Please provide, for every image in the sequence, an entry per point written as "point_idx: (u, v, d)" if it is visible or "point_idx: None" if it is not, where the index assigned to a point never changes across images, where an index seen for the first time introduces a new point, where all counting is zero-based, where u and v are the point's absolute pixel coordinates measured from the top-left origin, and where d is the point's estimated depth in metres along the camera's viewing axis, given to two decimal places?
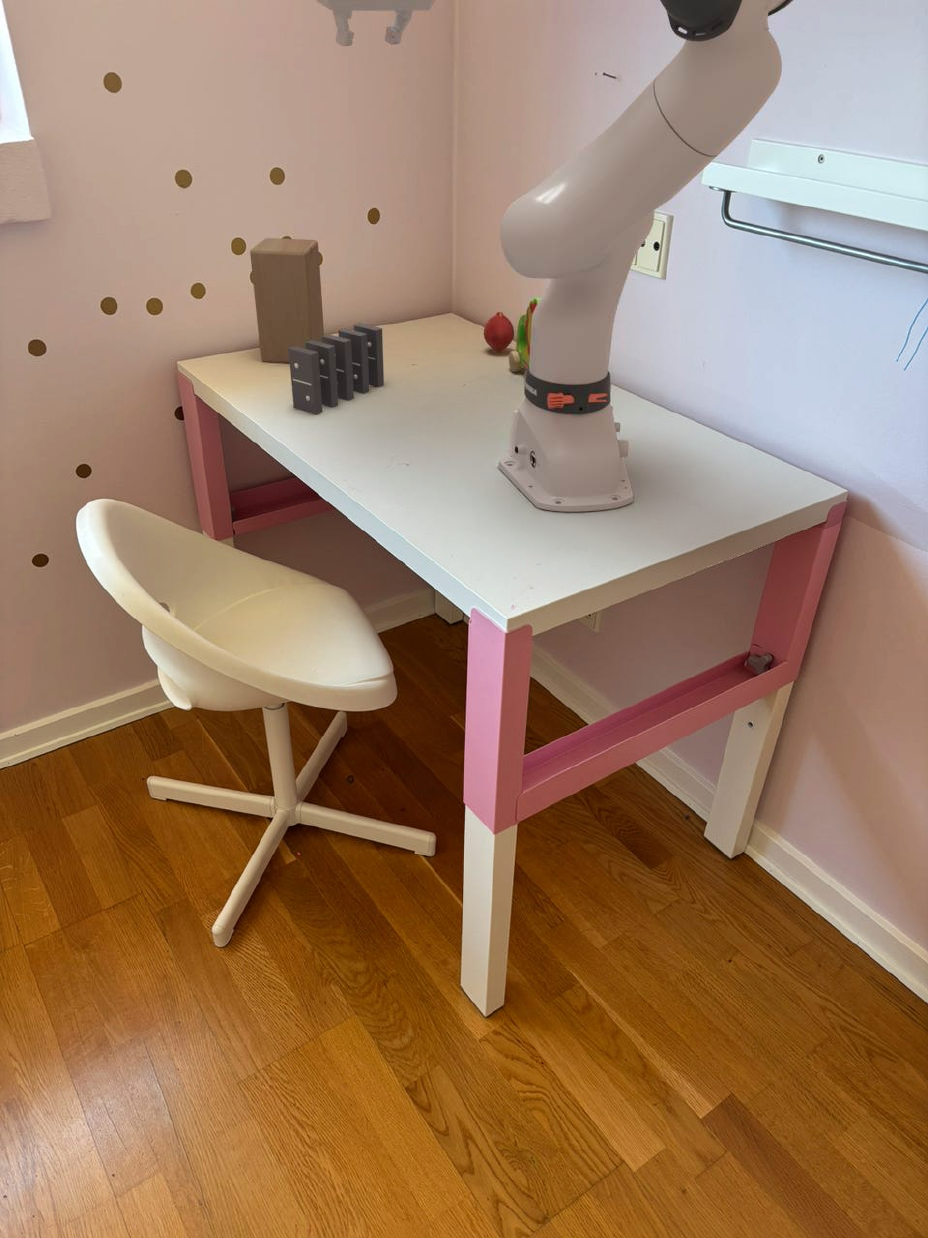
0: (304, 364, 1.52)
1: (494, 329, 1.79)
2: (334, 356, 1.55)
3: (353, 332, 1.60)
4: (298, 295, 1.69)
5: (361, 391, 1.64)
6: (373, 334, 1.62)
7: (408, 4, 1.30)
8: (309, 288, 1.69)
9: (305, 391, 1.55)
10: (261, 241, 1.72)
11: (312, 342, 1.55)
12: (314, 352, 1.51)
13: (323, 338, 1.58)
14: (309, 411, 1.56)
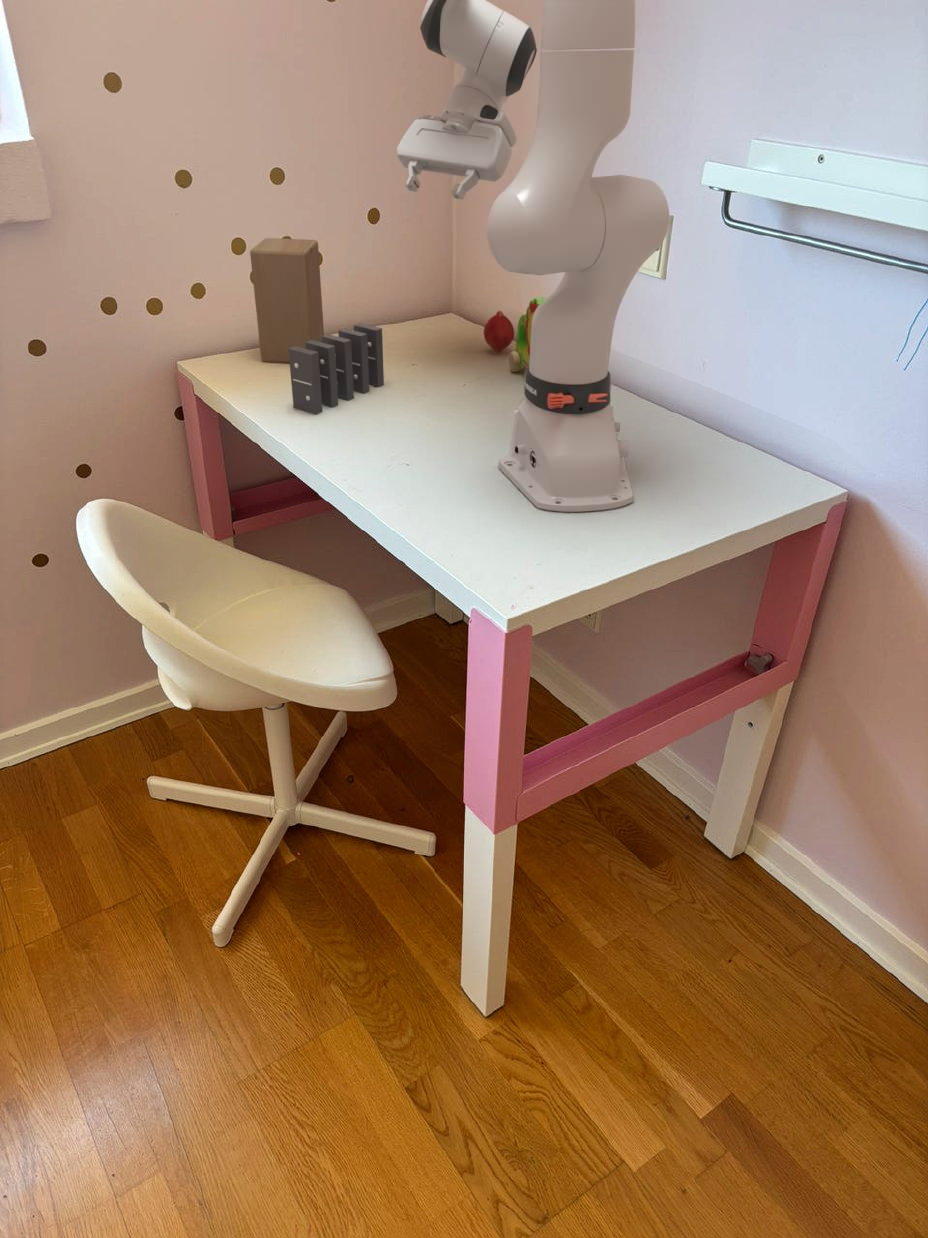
0: (304, 364, 1.52)
1: (494, 329, 1.79)
2: (334, 356, 1.55)
3: (353, 332, 1.60)
4: (298, 295, 1.69)
5: (361, 391, 1.64)
6: (373, 334, 1.62)
7: (465, 159, 1.55)
8: (309, 288, 1.69)
9: (305, 391, 1.55)
10: (261, 241, 1.72)
11: (312, 342, 1.55)
12: (314, 352, 1.51)
13: (323, 338, 1.58)
14: (309, 411, 1.56)
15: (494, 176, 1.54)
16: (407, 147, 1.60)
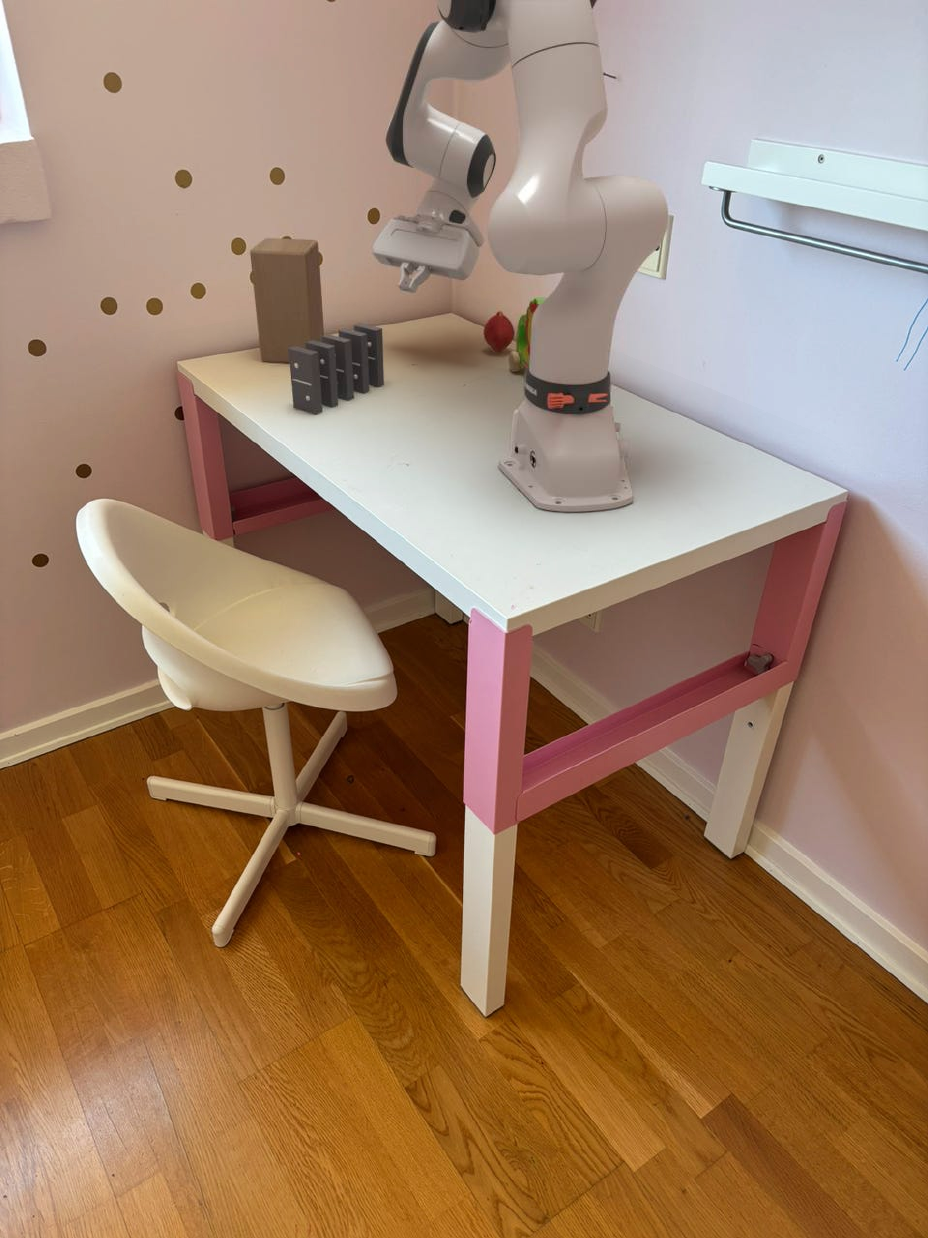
0: (304, 364, 1.52)
1: (495, 329, 1.79)
2: (334, 356, 1.55)
3: (353, 332, 1.60)
4: (298, 295, 1.69)
5: (361, 391, 1.64)
6: (373, 334, 1.62)
7: (435, 260, 1.65)
8: (309, 288, 1.69)
9: (305, 391, 1.55)
10: (261, 241, 1.72)
11: (312, 342, 1.55)
12: (314, 352, 1.51)
13: (323, 338, 1.58)
14: (309, 411, 1.56)
15: (461, 276, 1.64)
16: (382, 246, 1.70)
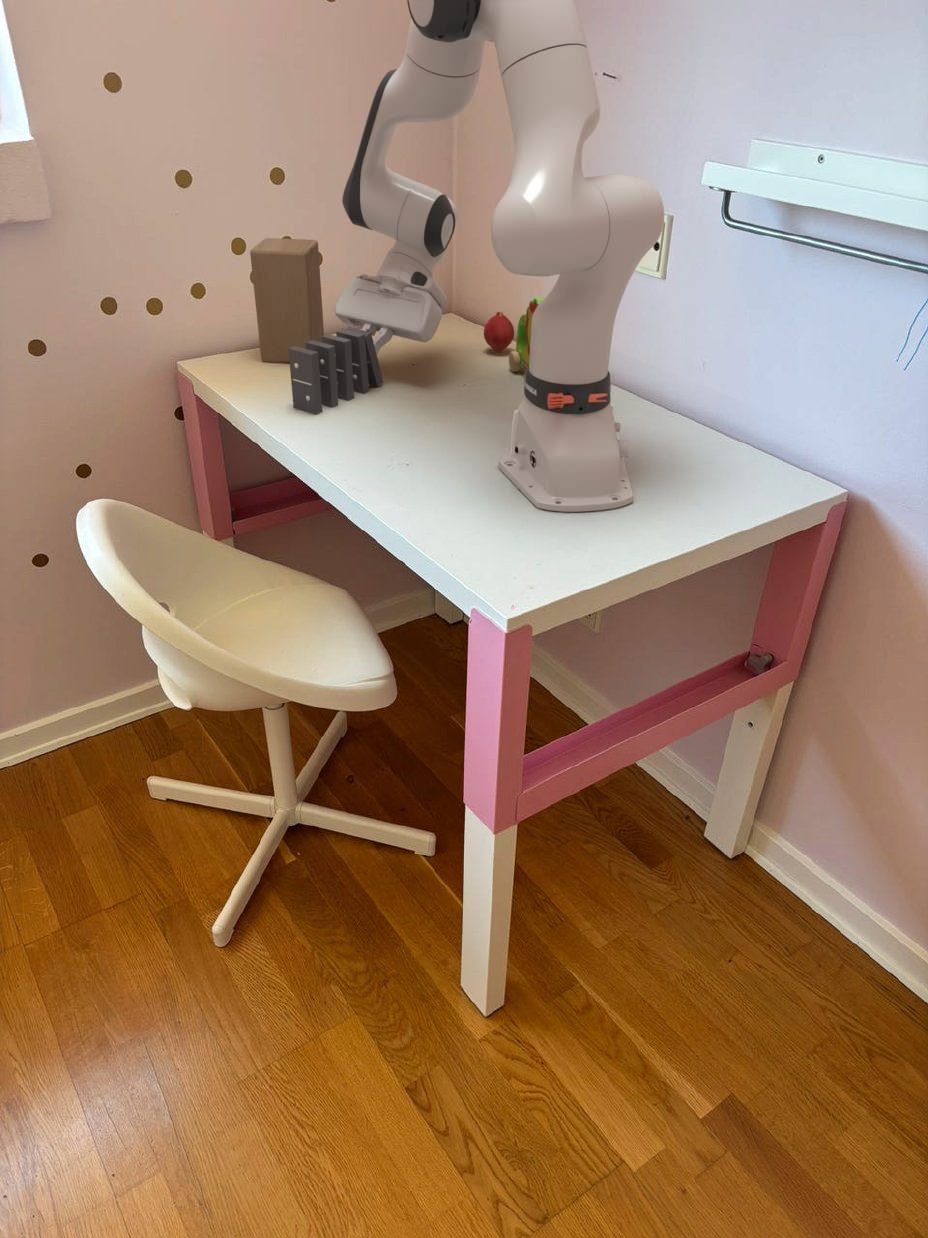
0: (304, 364, 1.52)
1: (495, 329, 1.79)
2: (334, 356, 1.55)
3: (351, 333, 1.60)
4: (298, 295, 1.69)
5: (361, 391, 1.64)
6: None
7: (396, 322, 1.62)
8: (309, 288, 1.69)
9: (305, 391, 1.55)
10: (261, 241, 1.72)
11: (312, 342, 1.55)
12: (314, 352, 1.51)
13: (323, 338, 1.58)
14: (309, 411, 1.56)
15: (424, 339, 1.61)
16: (344, 306, 1.67)
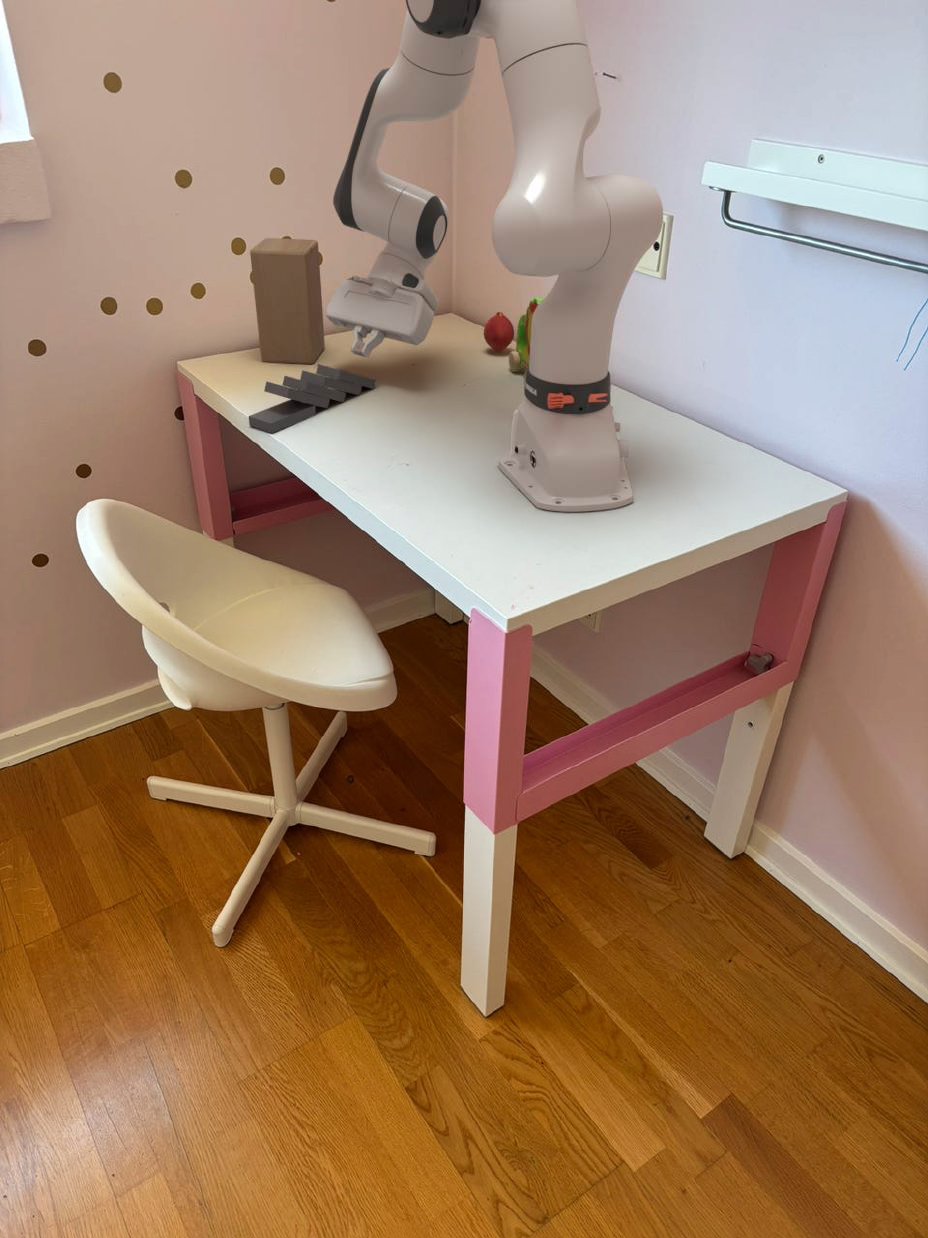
0: None
1: (495, 329, 1.79)
2: (296, 391, 1.50)
3: (313, 378, 1.56)
4: (298, 295, 1.69)
5: (356, 394, 1.63)
6: None
7: (388, 325, 1.60)
8: (309, 288, 1.69)
9: None
10: (261, 241, 1.72)
11: (269, 388, 1.51)
12: (270, 425, 1.48)
13: None
14: None
15: (415, 341, 1.60)
16: (335, 308, 1.66)
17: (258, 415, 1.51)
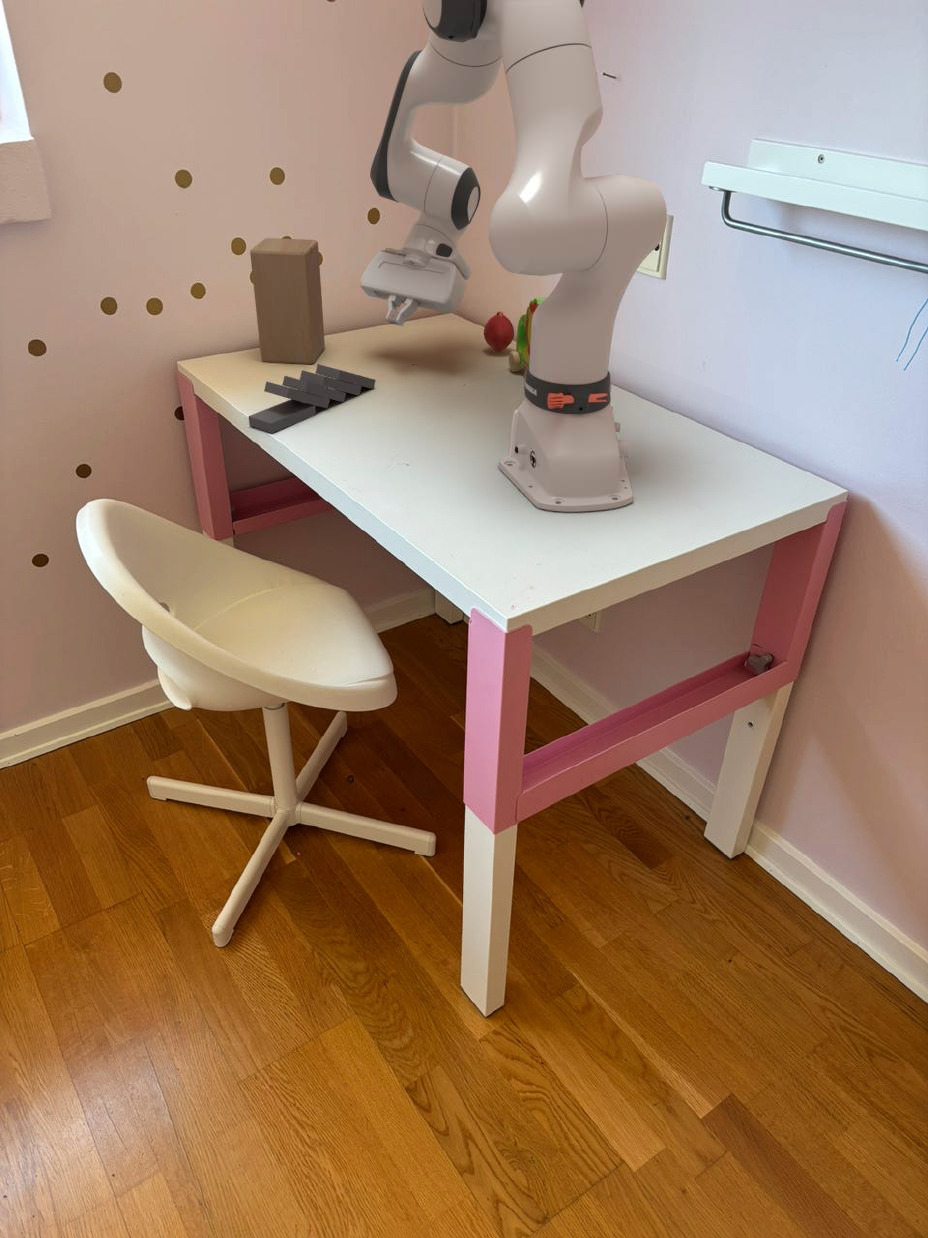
0: None
1: (495, 329, 1.79)
2: (295, 391, 1.50)
3: (313, 378, 1.56)
4: (298, 295, 1.69)
5: (356, 394, 1.63)
6: None
7: (422, 293, 1.65)
8: (309, 288, 1.69)
9: None
10: (261, 241, 1.72)
11: (269, 388, 1.51)
12: (269, 425, 1.48)
13: None
14: None
15: (449, 309, 1.64)
16: (369, 278, 1.70)
17: (258, 415, 1.51)
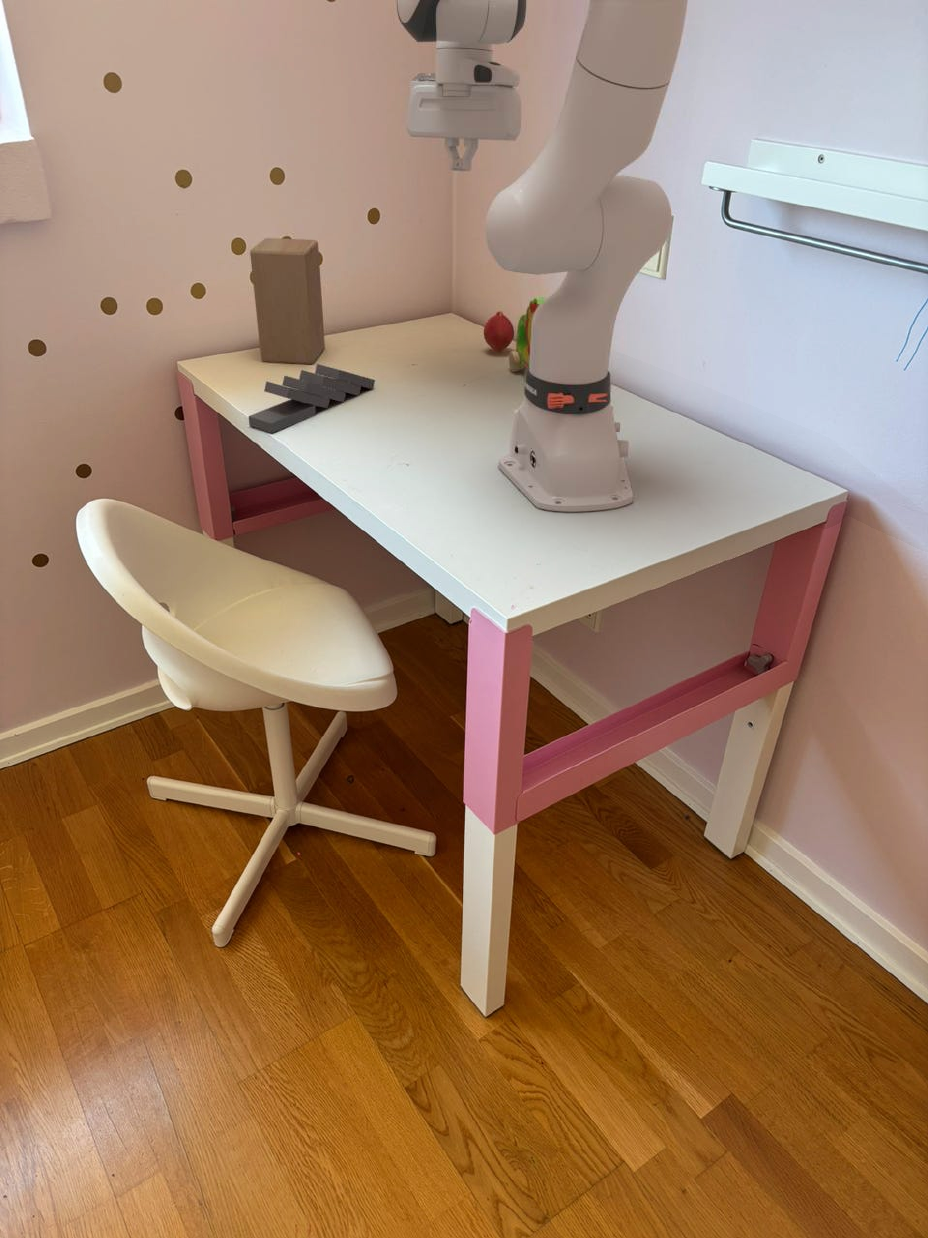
0: None
1: (494, 329, 1.79)
2: (296, 391, 1.50)
3: (312, 378, 1.55)
4: (298, 295, 1.69)
5: (355, 394, 1.63)
6: None
7: (478, 132, 1.48)
8: (309, 288, 1.69)
9: None
10: (261, 241, 1.72)
11: (269, 388, 1.51)
12: (269, 425, 1.48)
13: None
14: None
15: (512, 139, 1.47)
16: (416, 125, 1.54)
17: (258, 415, 1.51)
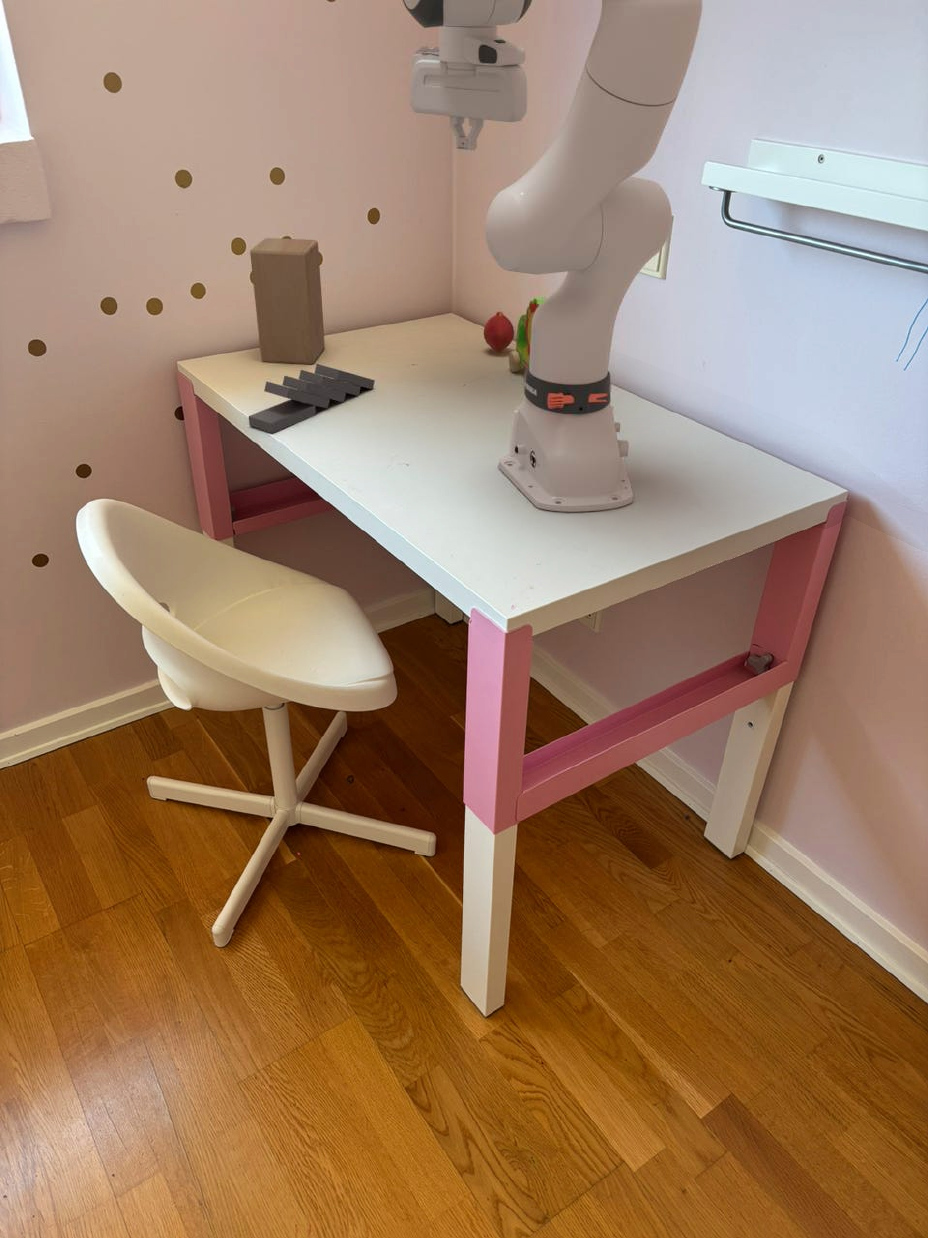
0: None
1: (494, 329, 1.79)
2: (296, 391, 1.50)
3: (311, 378, 1.55)
4: (298, 295, 1.69)
5: None
6: (337, 379, 1.58)
7: (483, 113, 1.45)
8: (309, 288, 1.69)
9: None
10: (261, 241, 1.72)
11: (269, 388, 1.51)
12: (270, 425, 1.48)
13: None
14: None
15: (518, 120, 1.45)
16: (420, 102, 1.51)
17: (258, 415, 1.51)
